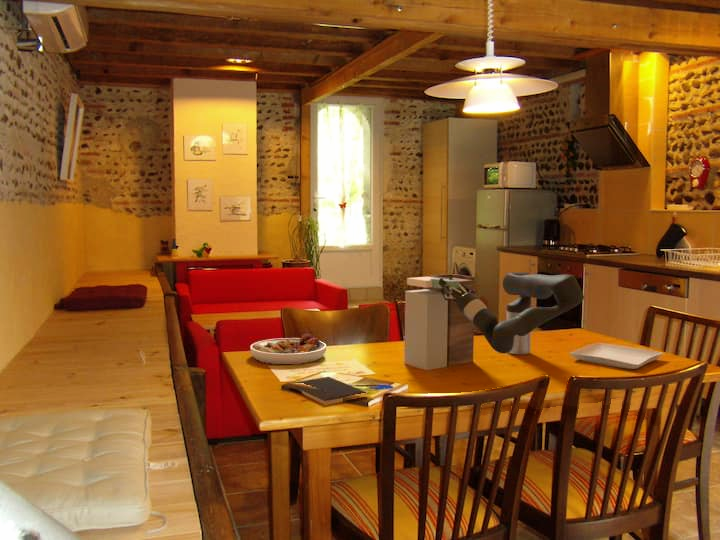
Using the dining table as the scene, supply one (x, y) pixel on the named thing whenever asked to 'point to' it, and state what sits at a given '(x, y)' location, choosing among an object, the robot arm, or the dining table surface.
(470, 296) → the robot arm
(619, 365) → the square plate
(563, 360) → the dining table surface
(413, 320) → the tall grey pillar
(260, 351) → the bowl
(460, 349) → the wood grain pillar
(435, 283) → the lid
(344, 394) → the hardcover book
